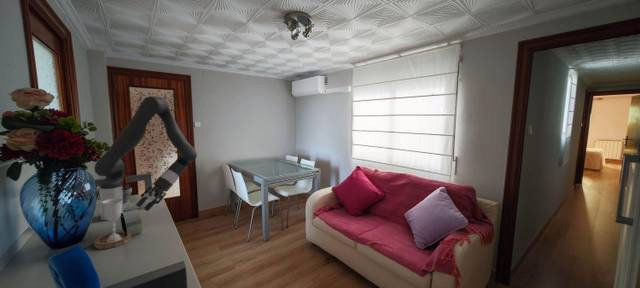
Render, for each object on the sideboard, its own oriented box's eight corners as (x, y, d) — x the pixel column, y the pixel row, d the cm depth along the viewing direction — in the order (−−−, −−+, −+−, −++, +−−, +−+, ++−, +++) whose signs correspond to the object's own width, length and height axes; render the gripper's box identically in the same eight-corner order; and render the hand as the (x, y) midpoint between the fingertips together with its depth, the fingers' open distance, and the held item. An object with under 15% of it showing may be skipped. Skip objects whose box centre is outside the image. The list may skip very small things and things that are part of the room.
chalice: (100, 241, 103) (98, 201, 102) (118, 235, 109) (117, 197, 108) (109, 245, 100) (107, 204, 99) (127, 238, 106) (126, 200, 105)
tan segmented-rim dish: (90, 243, 103) (90, 238, 102) (124, 233, 113) (124, 228, 113) (101, 251, 96) (100, 246, 96) (135, 240, 107) (135, 235, 107)
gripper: (154, 174, 123) (128, 201, 114) (168, 178, 116) (141, 207, 107) (165, 182, 128) (141, 208, 119) (179, 186, 121) (155, 215, 112)
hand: (141, 208), depth 113 cm, fingers open, 8 cm apart
